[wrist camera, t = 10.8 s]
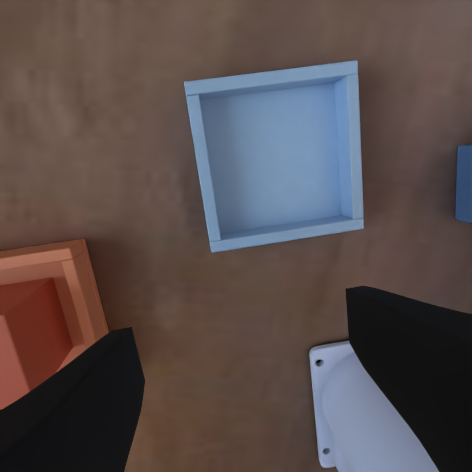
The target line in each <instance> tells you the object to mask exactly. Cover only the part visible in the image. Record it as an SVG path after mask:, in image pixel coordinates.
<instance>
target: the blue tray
mask: <svg viewBox="0 0 472 472" xmlns="http://www.w3.org/2000/svg"><path fill="white" fill-rule="evenodd" d="M357 73H358V63H357V61H356V60H355V61H347V62H339V63H331V64H323V65H315V66H307V67H299V68H291V69H283V70H275V71H267V72H259V73H251V74H243V75H235V76H227V77H219V78H211V79H203V80H195V81H186V82H184V87H185V93H186V99H187V106H188V112H189V118H190V124H191V130H192V136H193V143H194V149H195V155H196V161H197V167H198V174H199V180H200V186H201V192H202V198H203V205H204V211H205V217H206V223H207V229H208V235H209V241H210V248H211V252H219V251H226V250H232V249H238V248H245V247H251V246H257V245H264V244H270V243H277V242H283V241H289V240H296V239H302V238H308V237H315V236H321V235H327V234H334V233H340V232H346V231H353V230H359V229H363V228H364V219H363V217H364V215H363V189H362V163H361V137H360V111H359V85H358V74H357Z"/></svg>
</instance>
